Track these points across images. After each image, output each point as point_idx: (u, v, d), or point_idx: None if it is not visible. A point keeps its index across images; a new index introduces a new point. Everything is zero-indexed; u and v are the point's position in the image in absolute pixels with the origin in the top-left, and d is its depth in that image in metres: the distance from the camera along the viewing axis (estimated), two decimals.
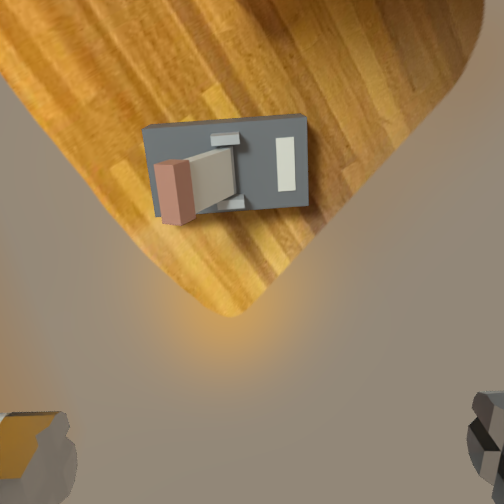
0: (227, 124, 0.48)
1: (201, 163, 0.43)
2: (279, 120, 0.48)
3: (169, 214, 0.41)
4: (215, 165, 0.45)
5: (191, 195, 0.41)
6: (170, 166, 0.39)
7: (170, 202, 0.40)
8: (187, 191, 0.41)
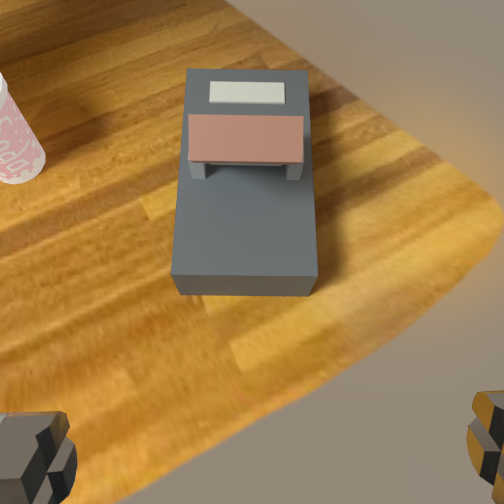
0: (182, 157, 0.33)
1: None
2: (186, 97, 0.35)
3: (282, 141, 0.21)
4: None
5: None
6: (191, 120, 0.21)
7: (259, 133, 0.21)
8: None
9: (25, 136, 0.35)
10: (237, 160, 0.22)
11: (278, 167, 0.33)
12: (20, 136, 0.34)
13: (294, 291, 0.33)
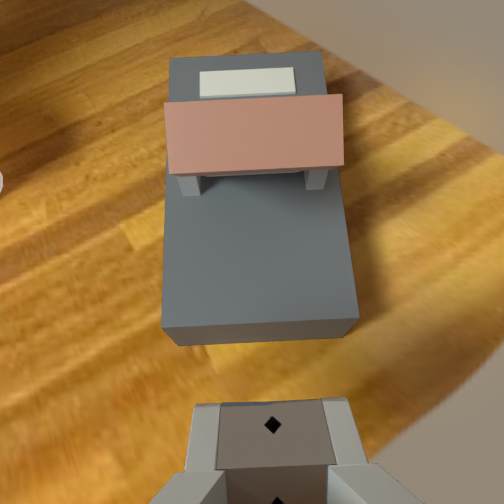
0: None
1: None
2: (171, 93, 0.28)
3: (312, 134, 0.14)
4: None
5: None
6: (168, 112, 0.14)
7: (274, 125, 0.14)
8: None
9: None
10: (243, 169, 0.14)
11: (294, 174, 0.25)
12: None
13: (325, 334, 0.25)
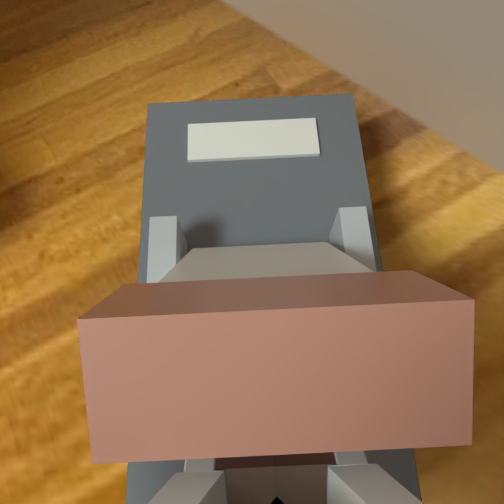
0: (142, 271, 0.18)
1: (184, 275, 0.11)
2: (148, 155, 0.20)
3: (405, 383, 0.06)
4: (219, 258, 0.13)
5: (294, 278, 0.08)
6: (88, 339, 0.06)
7: (323, 366, 0.06)
8: (268, 286, 0.08)
9: None
10: (254, 450, 0.07)
11: None
12: None
13: None
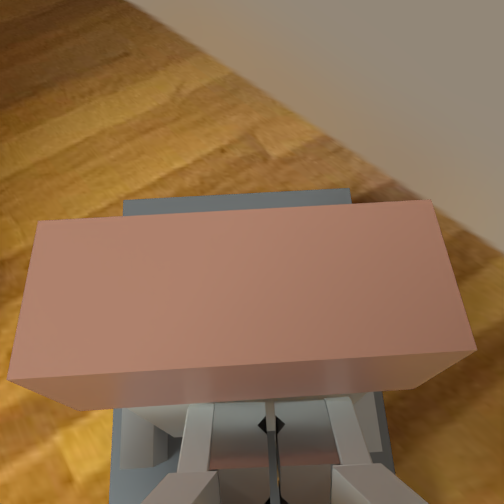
0: (118, 409, 0.16)
1: None
2: None
3: (379, 278, 0.06)
4: None
5: None
6: (43, 238, 0.06)
7: (287, 261, 0.06)
8: None
9: None
10: (211, 364, 0.05)
11: None
12: None
13: None
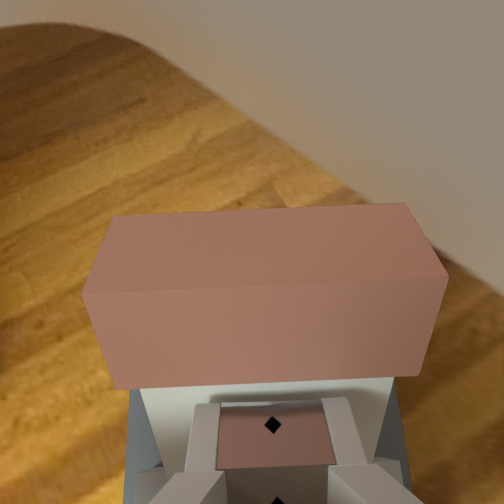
0: None
1: None
2: None
3: (368, 241, 0.07)
4: None
5: None
6: (116, 223, 0.08)
7: (297, 233, 0.08)
8: None
9: None
10: (239, 288, 0.07)
11: None
12: None
13: None
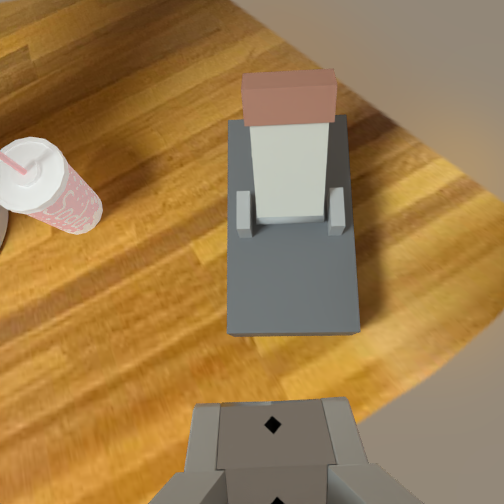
0: (229, 216, 0.35)
1: None
2: (229, 152, 0.37)
3: (318, 77, 0.26)
4: None
5: None
6: (244, 75, 0.27)
7: (298, 76, 0.27)
8: None
9: (85, 198, 0.38)
10: (282, 88, 0.26)
11: None
12: (81, 201, 0.37)
13: (338, 334, 0.36)
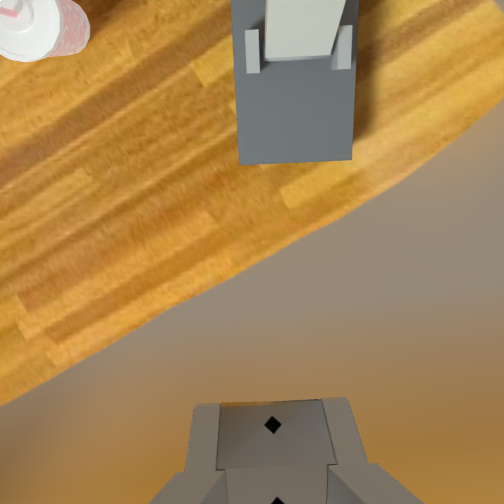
0: (235, 49, 0.35)
1: None
2: None
3: None
4: None
5: None
6: None
7: None
8: None
9: (76, 24, 0.35)
10: None
11: None
12: (74, 30, 0.35)
13: None
